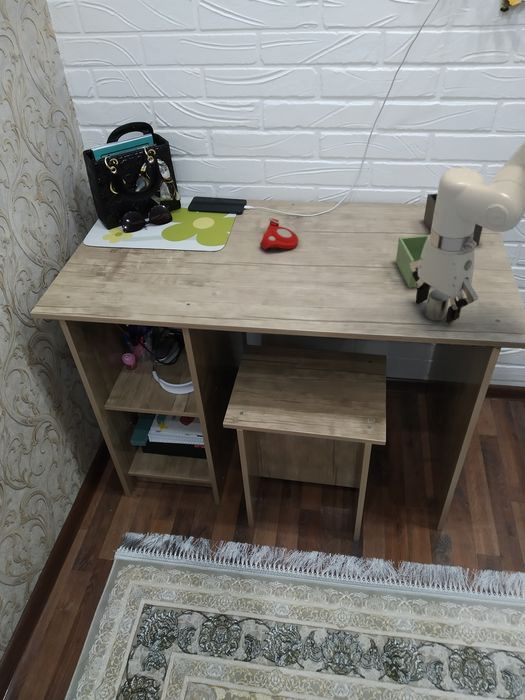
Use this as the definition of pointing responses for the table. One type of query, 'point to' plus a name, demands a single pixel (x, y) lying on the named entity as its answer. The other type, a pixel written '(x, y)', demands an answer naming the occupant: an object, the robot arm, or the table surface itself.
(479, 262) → the table surface
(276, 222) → the tracker holder
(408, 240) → the left bin
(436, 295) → the steel cylinder
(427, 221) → the right bin
